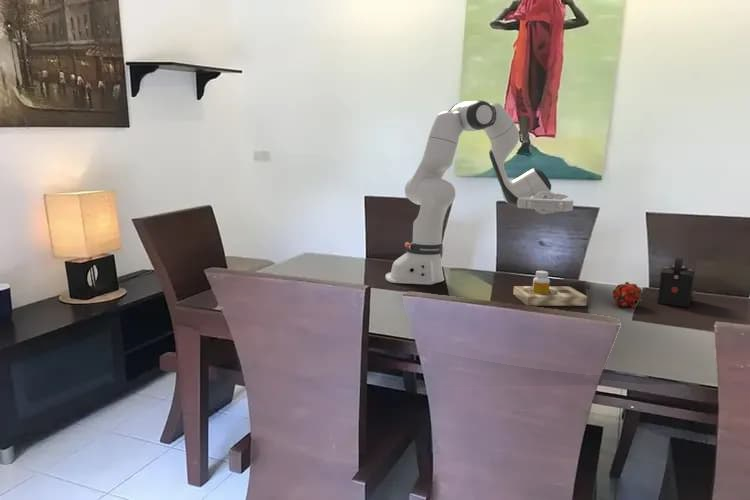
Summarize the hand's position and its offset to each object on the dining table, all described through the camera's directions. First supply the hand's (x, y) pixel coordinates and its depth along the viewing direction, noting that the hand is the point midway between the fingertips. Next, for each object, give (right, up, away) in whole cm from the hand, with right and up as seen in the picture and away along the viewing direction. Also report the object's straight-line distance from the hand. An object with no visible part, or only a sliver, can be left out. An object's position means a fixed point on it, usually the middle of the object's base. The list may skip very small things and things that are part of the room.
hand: (545, 205), depth 208 cm
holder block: (-4, -33, -16) cm, 37 cm away
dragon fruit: (+20, -35, -22) cm, 46 cm away
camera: (+40, -34, -14) cm, 55 cm away
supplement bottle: (-7, -33, -16) cm, 38 cm away
